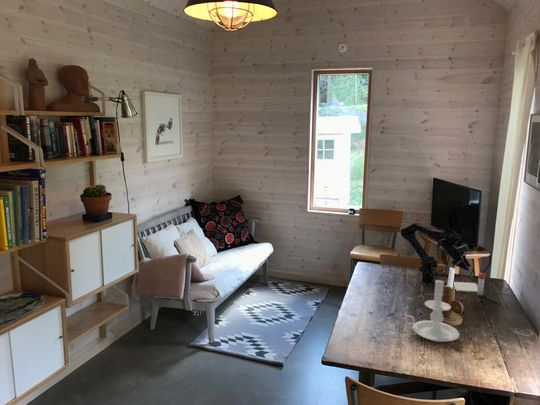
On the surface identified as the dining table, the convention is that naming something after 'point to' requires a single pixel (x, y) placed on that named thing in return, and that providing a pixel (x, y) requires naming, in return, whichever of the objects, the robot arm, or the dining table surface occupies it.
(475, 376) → the dining table surface
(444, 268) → the lion figurine
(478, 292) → the marker
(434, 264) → the robot arm
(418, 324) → the candlestick
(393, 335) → the dining table surface
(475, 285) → the notepad
